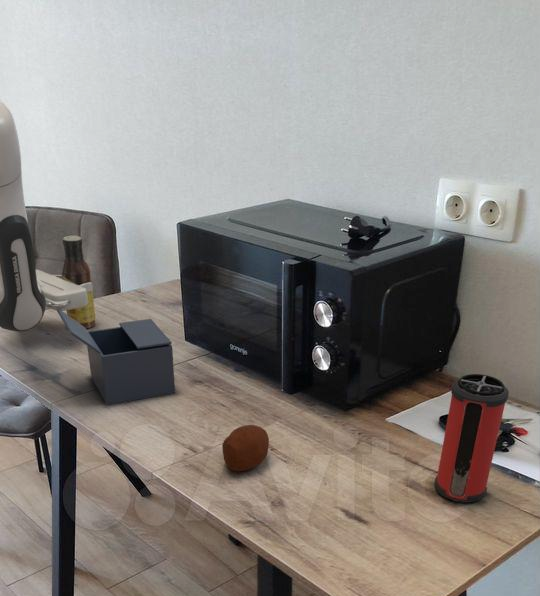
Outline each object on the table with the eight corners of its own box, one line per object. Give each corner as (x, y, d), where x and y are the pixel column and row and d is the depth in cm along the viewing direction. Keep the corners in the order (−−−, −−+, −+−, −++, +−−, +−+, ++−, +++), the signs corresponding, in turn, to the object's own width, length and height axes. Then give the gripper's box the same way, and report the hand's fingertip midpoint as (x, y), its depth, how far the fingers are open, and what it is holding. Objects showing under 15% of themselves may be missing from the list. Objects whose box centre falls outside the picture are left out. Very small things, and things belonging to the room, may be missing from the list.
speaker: (428, 496, 106) (448, 388, 96) (440, 472, 112) (459, 367, 102) (480, 509, 103) (505, 399, 93) (489, 483, 109) (513, 377, 99)
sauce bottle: (66, 322, 163) (53, 234, 152) (93, 319, 165) (82, 232, 155) (72, 332, 158) (59, 242, 147) (99, 328, 160) (89, 239, 150)
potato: (209, 465, 112) (208, 429, 109) (252, 445, 118) (252, 410, 114) (239, 482, 108) (239, 446, 104) (281, 461, 114) (283, 425, 110)
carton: (107, 405, 129) (101, 352, 123) (91, 377, 139) (84, 327, 133) (175, 393, 133) (172, 342, 128) (154, 367, 143) (151, 318, 138)
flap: (101, 352, 123) (100, 354, 123) (85, 327, 133) (84, 329, 133) (71, 332, 119) (70, 333, 119) (57, 307, 129) (56, 309, 129)
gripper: (50, 292, 141) (107, 277, 149) (-3, 270, 152) (53, 258, 161) (54, 322, 144) (110, 306, 153) (3, 298, 156) (57, 285, 164)
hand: (80, 281), depth 157 cm, fingers closed on sauce bottle, 6 cm apart
